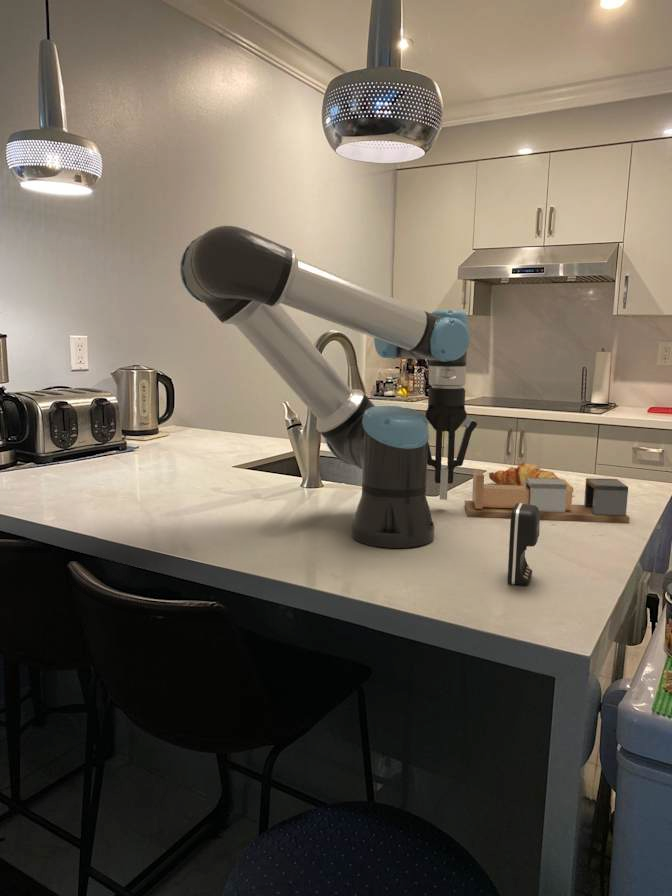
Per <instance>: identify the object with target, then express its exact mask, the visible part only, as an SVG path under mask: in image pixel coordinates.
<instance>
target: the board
mask: <svg viewBox="0 0 672 896" xmlns="http://www.w3.org/2000/svg"><path fill="white" fill-rule="evenodd" d="M464 509H465V511H466V515H467V517H470V518H471V517H472V518H495V519H511V514H512V510H513V508H492V507H483V509H475V507H474V504H473V501H472V500H464ZM543 520H544V521H546V520H547V521H565V522H566V521H567V522H594V523H595V522H596V523H616V524H617V523H619V524H629V523H630V516H629V515H628V514H626V516H607V515H593V514H592V507H585V506H584V504H571V510H565V513H545V512H540V521H543Z"/></svg>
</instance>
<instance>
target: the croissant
mask: <svg viewBox="0 0 672 896" xmlns="http://www.w3.org/2000/svg"><path fill="white" fill-rule="evenodd" d="M488 477H489V479H490V480H491V481H492V482H493V483H495V484H496V485H518V486H525V485H526V478H553V479H561V480H562V481H563V482H564V483H565V484H566V485H567V487H568V488H569V489H570V490H571V491H572V493H574V487H573V486H572V485H570V483H568V482H567V480H565V479H564V478H563V479H562V478H559V477H558V476H557V474H555V473H554V471H549V470H542V469H541V468H540V466H539V467H538V466H537V465H535V464H531V463H527V462H521V463H519V465H518V466H517V467H513V466H511V467H509V468H508V469H506V470H497V471H494V472H489V474H488Z"/></svg>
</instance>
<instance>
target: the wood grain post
mask: <svg viewBox="0 0 672 896" xmlns="http://www.w3.org/2000/svg"><path fill="white" fill-rule="evenodd" d="M472 473H473V476H472V478H473V479H472V497H471V501H473V504H474V507H475V509H483V507H492V508H514V506H515V505H516V504H517V503H519V504H520V503H523V504H529V502H530V486H518V485H498V484H488V483H486V484H485V474H484V473H483V470H482V469H481V468H473V472H472ZM572 499H573V492H572V491H571V490H570V489H569V488H568V487H567V489H566V504H565V510H571V505H573V504H572V503H573V500H572Z"/></svg>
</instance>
